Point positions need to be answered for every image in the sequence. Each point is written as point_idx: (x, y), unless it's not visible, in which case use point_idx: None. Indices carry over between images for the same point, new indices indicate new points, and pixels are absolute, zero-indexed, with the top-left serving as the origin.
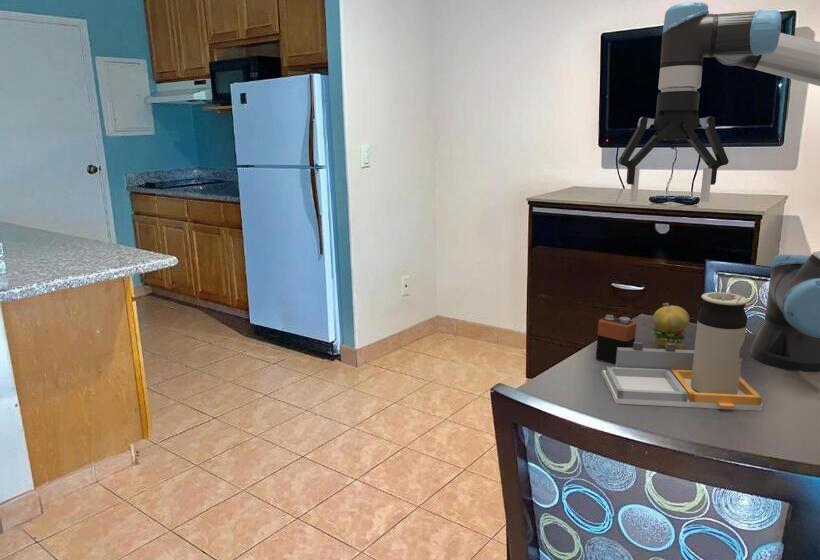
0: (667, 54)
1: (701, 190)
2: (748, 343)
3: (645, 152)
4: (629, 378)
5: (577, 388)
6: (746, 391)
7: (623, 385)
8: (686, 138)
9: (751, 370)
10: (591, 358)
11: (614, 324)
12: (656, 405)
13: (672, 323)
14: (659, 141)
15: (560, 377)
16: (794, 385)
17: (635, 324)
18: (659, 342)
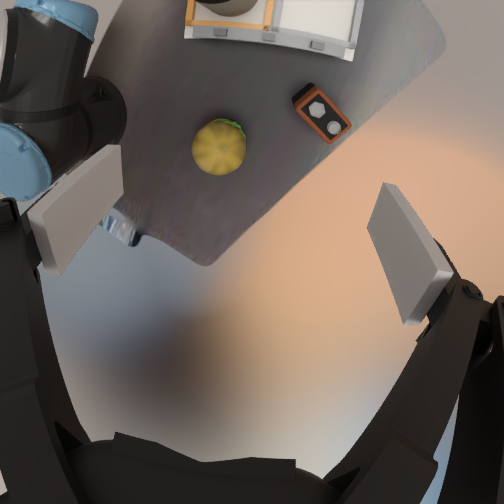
0: None
1: (106, 210)
2: None
3: (447, 354)
4: (327, 30)
5: (394, 29)
6: None
7: (344, 12)
8: (90, 443)
9: (146, 73)
10: None
11: (334, 104)
12: None
13: (226, 125)
14: (394, 436)
15: (403, 63)
16: (121, 33)
17: (297, 105)
18: (241, 129)
